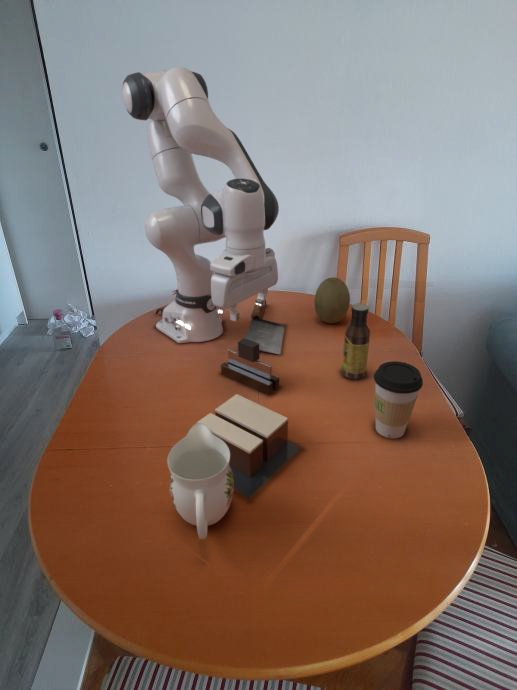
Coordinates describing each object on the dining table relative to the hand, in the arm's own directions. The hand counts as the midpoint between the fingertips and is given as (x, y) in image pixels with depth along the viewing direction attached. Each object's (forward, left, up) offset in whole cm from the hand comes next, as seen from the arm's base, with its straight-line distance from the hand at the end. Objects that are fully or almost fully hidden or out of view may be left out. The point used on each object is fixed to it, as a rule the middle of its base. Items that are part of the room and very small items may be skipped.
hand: (247, 312), depth 107 cm
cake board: (+15, -22, -20) cm, 33 cm away
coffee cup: (+37, +4, -20) cm, 42 cm away
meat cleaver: (-15, +27, -20) cm, 37 cm away
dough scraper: (0, 0, -20) cm, 20 cm away
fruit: (-1, +43, -20) cm, 47 cm away
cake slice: (+15, -24, -19) cm, 34 cm away
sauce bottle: (+20, +19, -20) cm, 34 cm away
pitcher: (+21, -38, -20) cm, 48 cm away
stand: (0, 0, -20) cm, 20 cm away
